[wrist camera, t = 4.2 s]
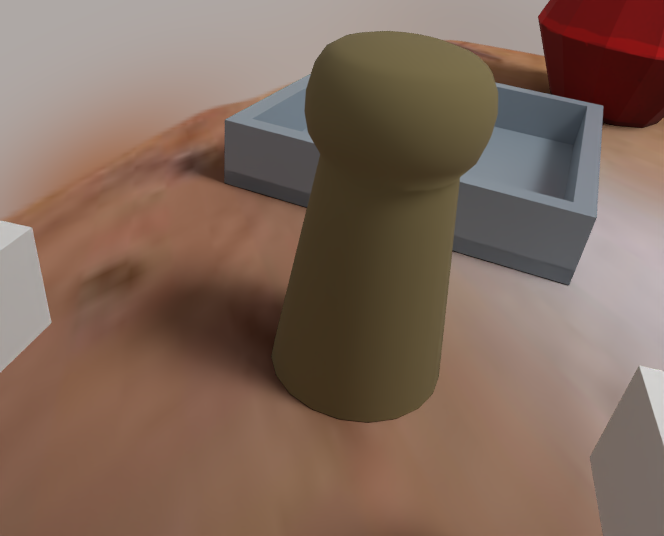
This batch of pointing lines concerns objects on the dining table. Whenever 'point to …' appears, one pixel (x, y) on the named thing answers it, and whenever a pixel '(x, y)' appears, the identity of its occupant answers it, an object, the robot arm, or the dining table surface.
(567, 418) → the dining table surface
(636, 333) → the dining table surface
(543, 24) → the bottle
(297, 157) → the tray
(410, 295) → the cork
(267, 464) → the dining table surface
